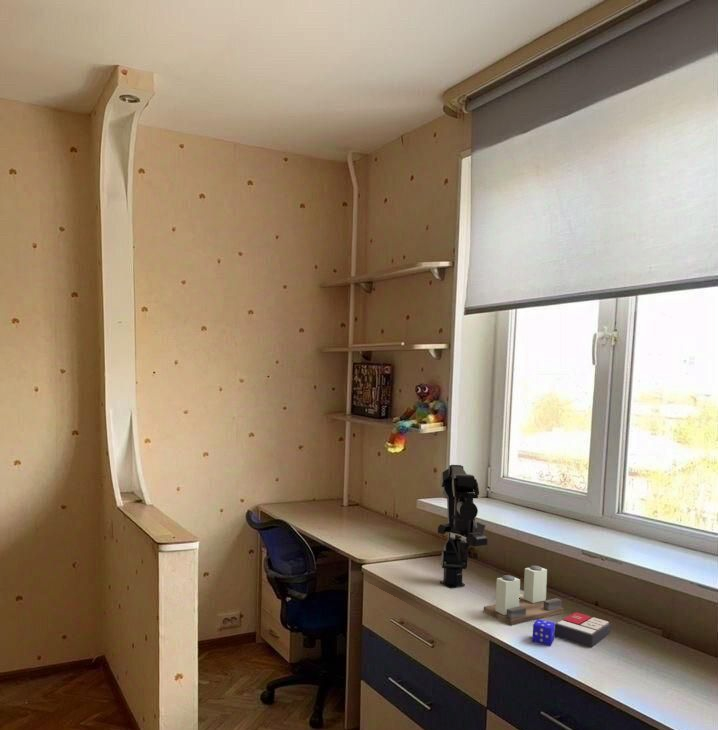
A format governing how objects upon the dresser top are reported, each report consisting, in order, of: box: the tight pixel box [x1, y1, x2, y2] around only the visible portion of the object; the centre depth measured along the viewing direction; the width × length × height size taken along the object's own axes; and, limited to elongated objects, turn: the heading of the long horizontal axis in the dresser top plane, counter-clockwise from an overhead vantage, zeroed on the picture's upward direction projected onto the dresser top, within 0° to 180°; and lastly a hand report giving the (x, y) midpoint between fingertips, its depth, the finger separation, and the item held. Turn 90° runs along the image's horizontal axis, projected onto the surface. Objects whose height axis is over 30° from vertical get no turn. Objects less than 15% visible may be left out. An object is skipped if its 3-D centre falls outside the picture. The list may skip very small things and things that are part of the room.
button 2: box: [523, 564, 548, 603], centre depth 207 cm, size 4×6×11 cm, turn 122°
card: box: [520, 589, 524, 599], centre depth 215 cm, size 8×6×1 cm
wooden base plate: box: [482, 597, 565, 626], centre depth 200 cm, size 12×23×4 cm, turn 121°
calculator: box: [554, 612, 612, 648], centre depth 185 cm, size 11×4×15 cm
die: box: [532, 619, 556, 647], centre depth 179 cm, size 5×5×5 cm
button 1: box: [495, 574, 521, 615], centre depth 195 cm, size 4×6×11 cm, turn 121°
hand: (460, 560), depth 208 cm, fingers closed
